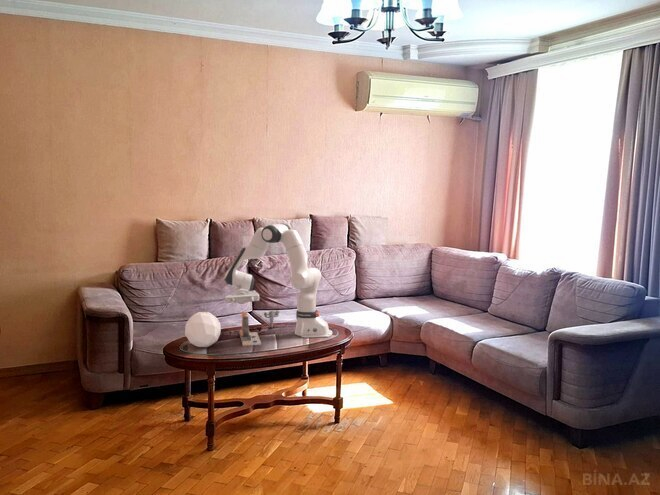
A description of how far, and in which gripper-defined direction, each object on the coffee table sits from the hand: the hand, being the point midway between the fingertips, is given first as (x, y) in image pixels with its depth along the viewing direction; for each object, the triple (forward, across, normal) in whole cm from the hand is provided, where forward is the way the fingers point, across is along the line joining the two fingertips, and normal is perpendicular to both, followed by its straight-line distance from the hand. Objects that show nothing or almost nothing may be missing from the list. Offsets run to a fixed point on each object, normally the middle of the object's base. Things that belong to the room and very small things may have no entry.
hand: (243, 300), depth 345 cm
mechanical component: (-13, +18, +21) cm, 30 cm away
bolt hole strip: (+13, +4, +21) cm, 25 cm away
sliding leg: (+11, -1, +18) cm, 21 cm away
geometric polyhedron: (+20, -24, +20) cm, 37 cm away
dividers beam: (+13, -1, +20) cm, 24 cm away
